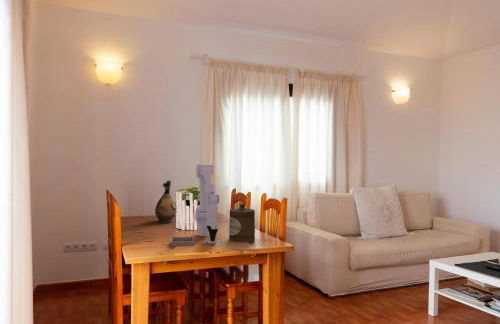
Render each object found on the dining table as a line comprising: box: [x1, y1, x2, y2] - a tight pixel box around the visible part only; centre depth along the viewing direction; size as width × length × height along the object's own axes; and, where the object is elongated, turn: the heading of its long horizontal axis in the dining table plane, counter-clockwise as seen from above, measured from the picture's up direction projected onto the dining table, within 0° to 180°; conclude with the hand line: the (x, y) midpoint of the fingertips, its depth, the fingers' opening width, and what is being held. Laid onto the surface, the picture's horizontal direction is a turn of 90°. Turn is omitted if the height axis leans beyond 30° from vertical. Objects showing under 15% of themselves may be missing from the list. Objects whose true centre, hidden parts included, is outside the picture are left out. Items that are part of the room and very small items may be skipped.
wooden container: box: [228, 202, 256, 244], centre depth 230 cm, size 15×15×22 cm
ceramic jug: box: [154, 180, 177, 223], centre depth 292 cm, size 17×15×30 cm
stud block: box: [201, 239, 223, 246], centre depth 220 cm, size 12×10×5 cm
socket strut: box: [207, 231, 217, 243], centre depth 220 cm, size 4×4×6 cm
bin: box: [170, 236, 195, 249], centre depth 218 cm, size 12×12×3 cm
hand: (211, 239), depth 220 cm, fingers open, 7 cm apart
